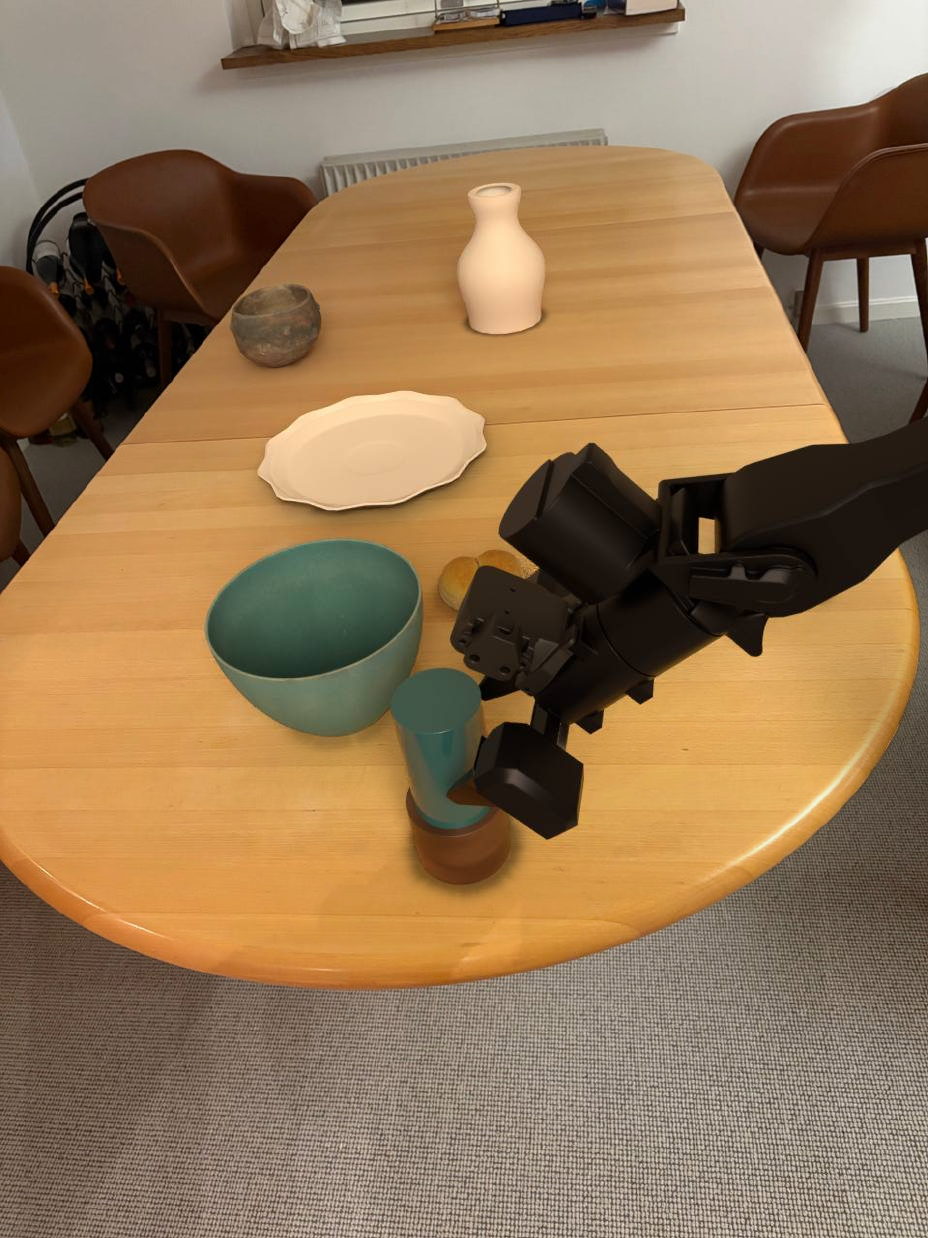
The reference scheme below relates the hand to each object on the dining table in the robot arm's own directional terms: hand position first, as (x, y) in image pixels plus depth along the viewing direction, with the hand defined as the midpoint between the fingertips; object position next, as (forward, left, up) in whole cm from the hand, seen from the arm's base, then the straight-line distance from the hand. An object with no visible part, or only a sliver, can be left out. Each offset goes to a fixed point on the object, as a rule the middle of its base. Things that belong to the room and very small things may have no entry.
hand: (466, 744), depth 60 cm
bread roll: (+13, -29, -12) cm, 33 cm away
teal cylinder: (+2, 0, -6) cm, 6 cm away
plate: (+38, -50, -12) cm, 63 cm away
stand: (+2, 0, -12) cm, 12 cm away
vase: (+39, -96, -12) cm, 104 cm away
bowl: (+69, -75, -12) cm, 102 cm away
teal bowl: (+19, -10, -12) cm, 24 cm away
